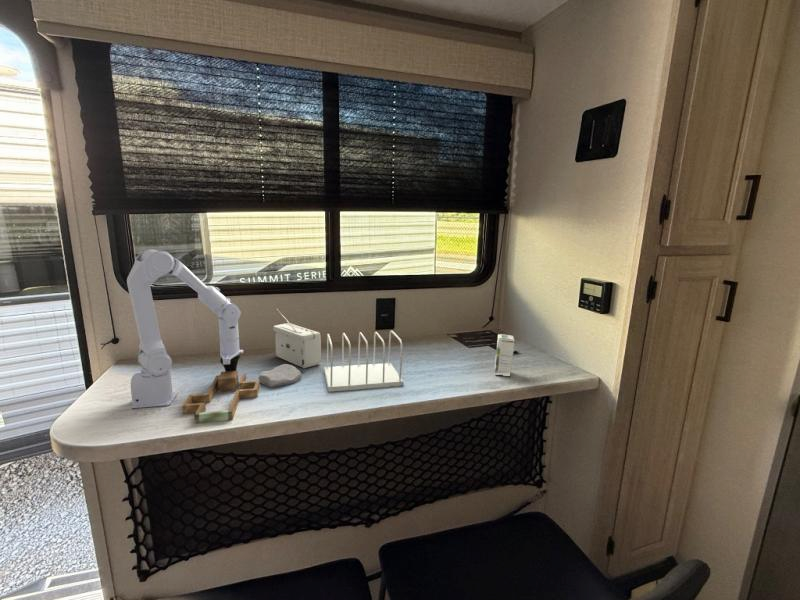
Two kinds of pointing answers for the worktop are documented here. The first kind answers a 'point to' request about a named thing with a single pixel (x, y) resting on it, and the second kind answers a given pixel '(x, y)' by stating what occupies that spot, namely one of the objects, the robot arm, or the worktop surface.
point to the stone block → (280, 376)
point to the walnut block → (228, 381)
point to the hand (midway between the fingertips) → (231, 377)
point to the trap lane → (199, 400)
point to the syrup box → (504, 353)
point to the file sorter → (362, 370)
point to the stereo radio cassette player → (297, 344)
